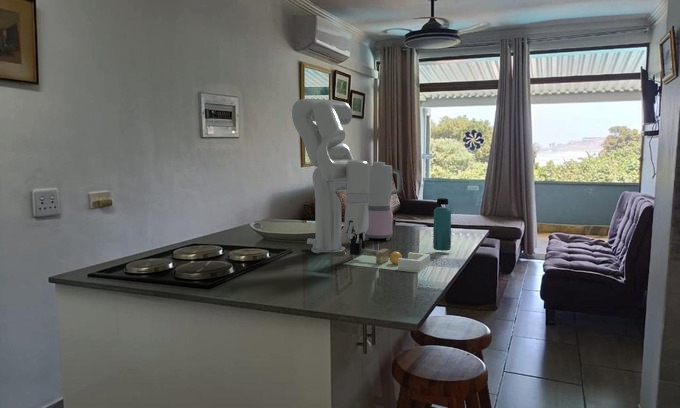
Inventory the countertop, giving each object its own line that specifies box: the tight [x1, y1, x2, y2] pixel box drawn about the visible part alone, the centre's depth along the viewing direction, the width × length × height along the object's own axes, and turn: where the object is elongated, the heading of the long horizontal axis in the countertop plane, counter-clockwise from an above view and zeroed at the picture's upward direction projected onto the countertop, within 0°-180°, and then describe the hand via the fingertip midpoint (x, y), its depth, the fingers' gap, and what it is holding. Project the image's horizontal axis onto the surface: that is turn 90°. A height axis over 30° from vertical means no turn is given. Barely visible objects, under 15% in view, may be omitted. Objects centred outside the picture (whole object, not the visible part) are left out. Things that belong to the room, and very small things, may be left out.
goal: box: [398, 251, 431, 272], centre depth 158 cm, size 7×11×3 cm, turn 154°
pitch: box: [343, 254, 434, 274], centre depth 162 cm, size 25×15×1 cm, turn 64°
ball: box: [389, 251, 403, 264], centre depth 161 cm, size 4×4×4 cm
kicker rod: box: [358, 238, 390, 264], centre depth 165 cm, size 12×6×7 cm, turn 64°
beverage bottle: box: [432, 197, 452, 252], centre depth 182 cm, size 6×7×20 cm
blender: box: [365, 161, 402, 242], centre depth 209 cm, size 16×12×32 cm
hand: (357, 253), depth 167 cm, fingers closed on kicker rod, 3 cm apart
